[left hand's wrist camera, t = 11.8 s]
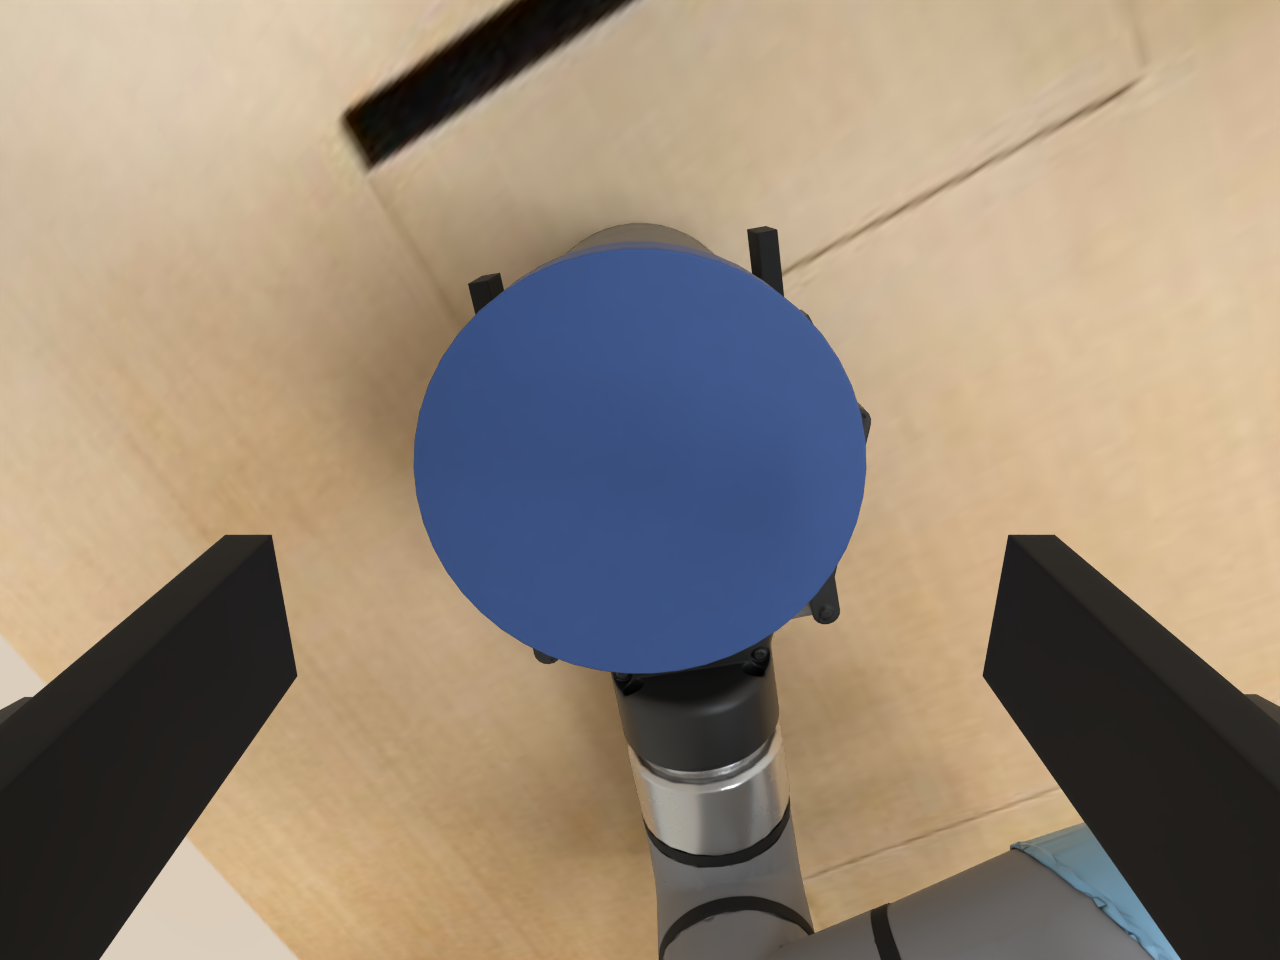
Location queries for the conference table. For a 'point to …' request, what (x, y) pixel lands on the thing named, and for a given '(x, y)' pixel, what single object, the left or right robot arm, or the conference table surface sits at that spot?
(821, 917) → the conference table surface
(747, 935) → the right robot arm
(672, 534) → the lid
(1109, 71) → the conference table surface
